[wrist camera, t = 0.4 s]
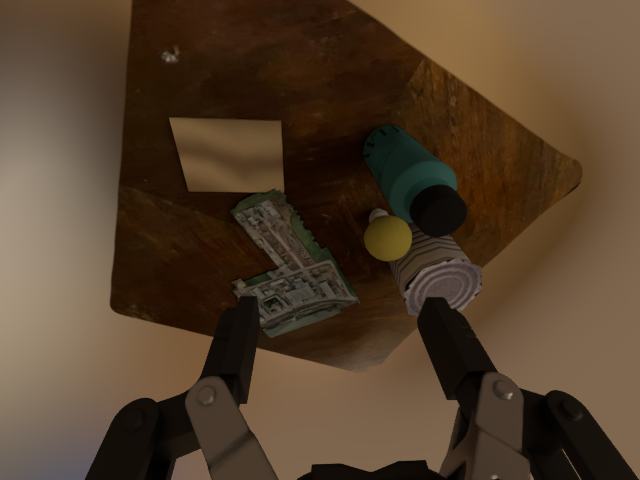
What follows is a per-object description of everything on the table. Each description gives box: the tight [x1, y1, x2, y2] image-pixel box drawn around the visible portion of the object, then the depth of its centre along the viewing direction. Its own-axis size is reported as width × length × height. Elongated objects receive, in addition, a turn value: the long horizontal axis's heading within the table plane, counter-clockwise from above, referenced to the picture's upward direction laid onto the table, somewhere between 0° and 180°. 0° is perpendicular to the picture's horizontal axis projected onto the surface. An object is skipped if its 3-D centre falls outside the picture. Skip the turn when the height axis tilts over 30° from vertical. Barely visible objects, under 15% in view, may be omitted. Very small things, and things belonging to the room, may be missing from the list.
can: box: [388, 222, 482, 317], centre depth 42 cm, size 11×11×12 cm
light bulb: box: [364, 209, 412, 261], centre depth 39 cm, size 7×7×10 cm
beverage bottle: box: [363, 125, 467, 237], centre depth 29 cm, size 6×7×20 cm
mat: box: [169, 117, 284, 193], centre depth 37 cm, size 10×14×1 cm
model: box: [230, 188, 360, 338], centre depth 48 cm, size 21×30×2 cm
